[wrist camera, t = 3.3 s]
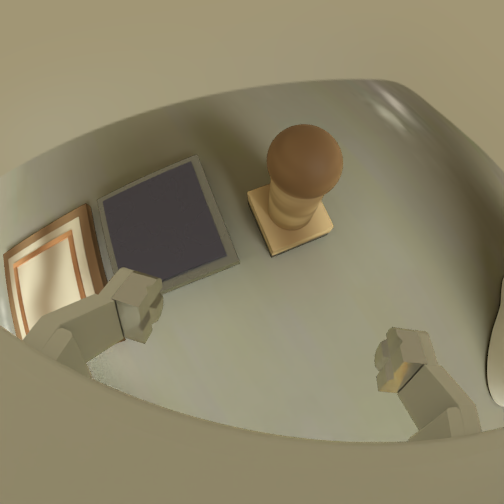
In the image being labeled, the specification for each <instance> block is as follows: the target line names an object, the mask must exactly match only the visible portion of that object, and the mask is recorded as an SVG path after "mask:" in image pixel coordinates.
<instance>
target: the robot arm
mask: <svg viewBox="0 0 504 504" xmlns="http://www.w3.org/2000/svg"><path fill="white" fill-rule="evenodd" d="M161 289H162V279H160V278H159V277H155V276H152V275H148V274H145V273H142V272H139V271H134V270H131V269H128V268H125V267H123V268H120V269H119V270H118V271H117V272H116V274H115V275H114V276H113V277H112V278H111V280H110V281H109V282H108V283H107V284H106V286H105V287H104V288H103V289H102V291H101V292H100V293H99V294H98V295H97V294H93V295H91V296H88V297H86V298H83V299H81V300H79V301H76V302H74V303H71V304H69V305H67V306H64V307H62V308H60V309H57V310H55V311H53V312H50V313H48V314H46V315H43V316H41V318H40V319H39V320H38V321H37V323H36V324H35V325H34V326H33V327H32V329H31V330H30V331H29V333H28V334H27V335H26V336H25V338H24V339H23V340H21V339H19V338H18V337H16V336H15V335H13V334H12V333H10V332H9V331H7V330H6V329H4V328H3V327H2V326H0V504H504V427H502V428H498V429H494V430H489V431H484V432H482V431H481V426H480V421H479V417H478V413H477V409H476V405H475V404H474V403H473V401H472V400H471V399H470V398H469V397H468V395H467V394H466V393H465V392H464V391H463V390H462V388H461V387H460V386H459V385H458V384H457V383H456V382H455V380H454V379H453V378H452V377H451V376H450V375H449V374H448V373H447V371H446V370H445V369H444V368H443V367H442V366H439V365H438V362H437V359H436V356H435V352H434V349H433V346H432V343H431V340H430V337H429V334H428V333H427V332H426V331H418V330H409V329H402V328H395V327H392V328H390V329H389V330H388V332H387V333H386V337H387V339H386V340H384V341H382V342H380V344H379V346H378V347H377V349H376V353H375V359H374V362H375V367H376V368H377V370H378V371H379V373H378V375H377V376H376V378H377V386H378V391H379V392H389V393H398V394H397V395H398V397H399V398H400V400H401V401H402V403H403V405H404V406H405V408H406V410H407V411H408V413H409V415H410V416H411V418H412V420H413V421H414V423H415V425H416V426H417V428H418V430H419V431H418V432H417V433H415V434H414V435H413V436H411V437H410V438H409V439H408V440H409V441H407V442H342V441H327V440H315V439H305V438H297V437H289V436H282V435H275V434H269V433H263V432H258V431H252V430H247V429H242V428H237V427H233V426H228V425H224V424H220V423H216V422H212V421H208V420H204V419H201V418H197V417H193V416H190V415H186V414H183V413H180V412H177V411H173V410H170V409H167V408H164V407H161V406H158V405H155V404H153V403H150V402H147V401H144V400H141V399H139V398H136V397H134V396H131V395H129V394H126V393H124V392H121V391H119V390H116V389H114V388H112V387H109V386H107V385H105V384H102V383H100V382H98V381H96V380H94V379H92V374H91V372H90V370H89V368H88V366H87V364H86V362H88V361H89V360H91V359H93V358H94V357H96V356H97V355H99V354H100V353H102V352H103V351H105V350H107V349H108V348H110V347H111V346H113V345H114V344H116V343H117V342H119V341H121V340H122V339H124V337H125V338H128V339H131V340H134V341H137V342H140V343H144V344H145V343H146V341H147V339H148V338H149V336H150V334H151V332H152V324H153V323H155V322H157V321H158V319H159V317H160V315H161V312H162V309H163V296H162V294H161V293H160V290H161ZM487 378H488V386H489V390H490V393H491V396H492V398H493V400H494V401H495V402H496V403H497V404H498V405H500V406H503V407H504V278H503V281H502V289H501V304H500V309H499V312H498V315H497V318H496V321H495V324H494V327H493V331H492V335H491V340H490V345H489V351H488V361H487Z"/></svg>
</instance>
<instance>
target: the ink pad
mask: <svg viewBox="0 0 504 504" xmlns="http://www.w3.org/2000/svg"><path fill="white" fill-rule="evenodd" d="M97 202H98V207H99V213H100V218H101V223H102V227H103V232H104V237H105V241H106V245H107V250H108V254H109V258H110V262H111V266H112V269H113V273H114V275H115V274H116V272H117V271H118V270H119V269H120V268H123V267H125V268H128V269H131V270H134V271H139V272H142V273H145V274H148V275H152V276H155V277H159V278H160V279H162V289H161V290H160V293H161V294H165V293H167V292H170V291H172V290H175V289H177V288H180V287H182V286H185V285H187V284H190V283H192V282H195V281H197V280H200V279H202V278H205V277H207V276H210V275H212V274H215V273H217V272H220V271H223V270H225V269H228V268H230V267H233V266H235V265H238V264H240V262H239V259H238V257H237V254H236V252H235V249H234V247H233V244H232V242H231V239H230V237H229V234H228V232H227V229H226V227H225V224H224V222H223V219H222V216H221V214H220V211H219V209H218V206H217V204H216V201H215V199H214V196H213V194H212V191H211V188H210V186H209V183H208V181H207V178H206V176H205V173H204V170H203V168H202V165H201V163H200V160H199V157H198V155H197V154H196V155H194V156H191V157H189V158H186V159H184V160H181V161H179V162H177V163H174V164H172V165H169V166H167V167H165V168H162V169H160V170H158V171H156V172H153V173H151V174H149V175H147V176H144V177H142V178H140V179H138V180H136V181H134V182H132V183H129V184H127V185H125V186H123V187H121V188H119V189H117V190H115V191H113V192H111V193H109V194H107V195H105V196H103V197H101V198H99V199H97Z"/></svg>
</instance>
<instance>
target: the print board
mask: <svg viewBox="0 0 504 504" xmlns="http://www.w3.org/2000/svg"><path fill="white" fill-rule="evenodd" d="M3 257H4V267H5V276H6V284H7V290H8V297H9V303H10V308H11V313H12V318H13V323H14V327H15V331H16V336H17V337H18V338H19V339H21V340H23V339H24V338H25V336H26V335H27V334H28V333H29V331H30V330H31V329H32V327H33V326H34V325H35V324H36V323H37V321H38V320H39V319H40V318H41V316H43V315H46V314H48V313H50V312H53V311H55V310H57V309H60V308H62V307H64V306H67V305H69V304H71V303H74V302H76V301H79V300H81V299H83V298H86V297H88V296H91V295H93V294H97V295H98V294H99V293H100V292H101V291H102V289H103V288H104V287H105V286H106V284H107V279H106V275H105V271H104V267H103V263H102V259H101V255H100V251H99V246H98V242H97V237H96V232H95V227H94V222H93V217H92V211H91V207H90V206H89V205H87V204H84V205H82V206H80V207H78V208H76V209H75V210H73V211H71V212H69V213H68V214H66V215H64V216H62V217H61V218H59V219H57V220H56V221H54V222H52V223H51V224H49V225H47V226H46V227H44V228H42V229H41V230H39V231H38V232H36V233H34V234H33V235H31V236H30V237H28V238H27V239H25V240H24V241H22V242H21V243H19V244H18V245H16V246H15V247H13V248H12V249H10V250H9V251H7V252H6V253H5V254H3ZM122 341H125V337H124V339H122V340H121V341H119V342H122ZM119 342H117V343H119Z"/></svg>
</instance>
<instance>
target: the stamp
mask: <svg viewBox="0 0 504 504" xmlns="http://www.w3.org/2000/svg"><path fill="white" fill-rule="evenodd" d="M267 168H268V172H269V174H270V177H271V181H270V184H267V185H265V186H262V187H259V188H257V189H254V190H251V191H248V192H247V195H248V204H249V206H250V209H251V211H252V213H253V216H254V218H255V220H256V222H257V225H258V227H259V229H260V232H261V234H262V236H263V239H264V241H265V243H266V246H267V248H268V250H269V253H270V255H271V258H272V257H274V256H277V255H279V254H282V253H284V252H287V251H289V250H291V249H294V248H296V247H299V246H301V245H304V244H306V243H309V242H311V241H313V240H316V239H318V238H321V237H323V236H326V235H327V234H328V233H329V232H330V231H331V230H332V228H333V227H334V226H333V224H332V222H331V220H330V218H329V215H328V213H327V211H326V209H325V207H324V205H323V203H322V201H321V200H322V198H323V196H324V194H326V193H328V192H329V191H330V190H331V189H332V188H333V187H334V186H335V185H336V184H337V182H338V180H339V178H340V176H341V173H342V169H343V157H342V152H341V150H340V147H339V145H338V143H337V142H336V140H335V139H334V138H333V137H332V136H331V135H330V134H329V133H328V132H326V131H325V130H323V129H321V128H319V127H317V126H313V125H307V124H301V125H295V126H291V127H289V128H287V129H285V130H283V131H282V132H280V133H279V134H278V135H277V136H276V137H275V139H274V140H273V141H272V143H271V145H270V147H269V150H268V154H267Z"/></svg>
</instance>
